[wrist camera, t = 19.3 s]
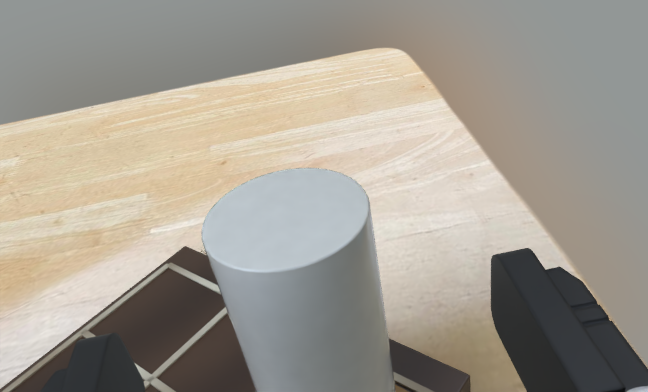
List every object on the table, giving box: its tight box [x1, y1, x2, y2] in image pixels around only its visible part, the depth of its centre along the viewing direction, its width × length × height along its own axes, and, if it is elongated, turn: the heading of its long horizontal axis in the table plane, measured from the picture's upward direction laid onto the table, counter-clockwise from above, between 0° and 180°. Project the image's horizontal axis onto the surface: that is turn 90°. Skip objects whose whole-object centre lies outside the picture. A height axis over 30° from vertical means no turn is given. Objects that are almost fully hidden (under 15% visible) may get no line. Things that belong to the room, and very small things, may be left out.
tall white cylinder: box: [202, 168, 396, 392], centre depth 17 cm, size 4×4×9 cm
